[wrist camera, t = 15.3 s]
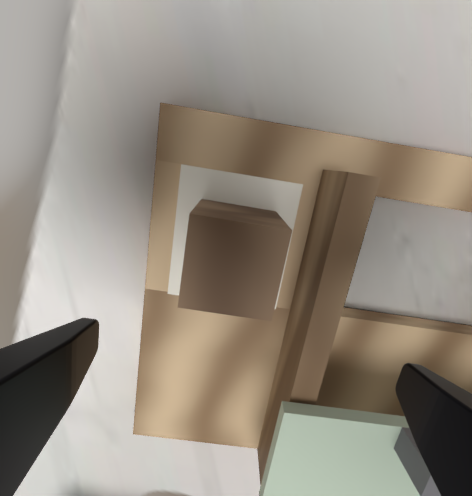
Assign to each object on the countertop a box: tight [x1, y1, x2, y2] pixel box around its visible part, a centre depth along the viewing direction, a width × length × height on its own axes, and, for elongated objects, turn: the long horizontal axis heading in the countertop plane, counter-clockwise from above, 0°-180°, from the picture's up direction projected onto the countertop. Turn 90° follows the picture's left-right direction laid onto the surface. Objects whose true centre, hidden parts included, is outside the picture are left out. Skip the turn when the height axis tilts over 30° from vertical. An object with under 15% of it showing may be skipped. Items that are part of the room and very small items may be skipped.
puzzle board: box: [133, 103, 472, 484], centre depth 19 cm, size 28×23×6 cm
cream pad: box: [167, 164, 303, 309], centre depth 18 cm, size 7×8×1 cm
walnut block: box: [178, 199, 292, 321], centre depth 16 cm, size 4×4×5 cm
